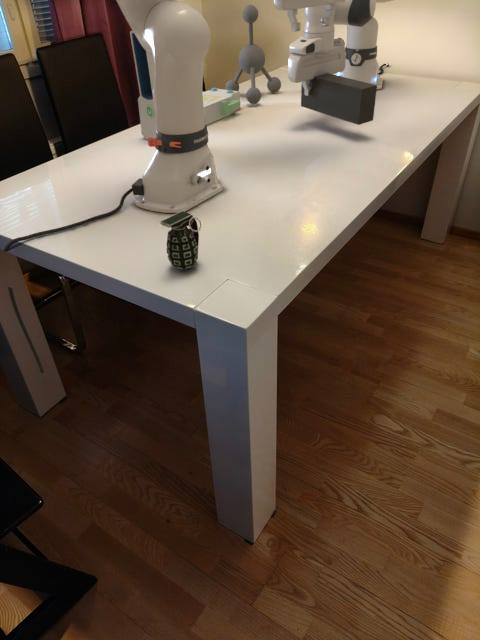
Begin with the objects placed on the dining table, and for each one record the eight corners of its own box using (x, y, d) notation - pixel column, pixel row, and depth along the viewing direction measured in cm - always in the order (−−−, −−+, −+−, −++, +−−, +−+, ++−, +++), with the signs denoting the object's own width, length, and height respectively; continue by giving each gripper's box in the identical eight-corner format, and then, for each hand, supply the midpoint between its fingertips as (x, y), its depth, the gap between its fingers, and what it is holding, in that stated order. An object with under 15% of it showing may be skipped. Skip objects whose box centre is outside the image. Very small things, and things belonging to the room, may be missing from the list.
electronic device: (141, 137, 154) (123, 28, 136) (159, 131, 158) (144, 24, 140) (166, 145, 147) (151, 30, 129) (185, 138, 151) (172, 26, 133)
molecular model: (299, 96, 185) (301, 2, 166) (252, 107, 175) (249, 9, 157) (262, 86, 200) (261, -1, 182) (217, 96, 191) (211, 5, 173)
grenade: (182, 278, 88) (175, 228, 82) (162, 268, 91) (153, 219, 85) (208, 263, 92) (203, 214, 85) (187, 253, 95) (181, 205, 89)
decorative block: (204, 85, 179) (249, 90, 169) (206, 103, 183) (250, 109, 173) (156, 101, 163) (202, 108, 153) (159, 121, 167) (204, 129, 157)
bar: (373, 120, 140) (377, 85, 134) (358, 125, 138) (362, 89, 132) (314, 102, 157) (315, 70, 151) (300, 106, 155) (301, 73, 149)
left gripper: (337, -45, 116) (333, 22, 125) (269, -39, 108) (269, 32, 116) (356, -45, 112) (351, 24, 121) (287, -40, 104) (286, 35, 112)
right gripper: (337, 35, 148) (334, 84, 157) (284, 46, 140) (284, 97, 149) (352, 37, 144) (348, 87, 153) (298, 49, 136) (297, 101, 144)
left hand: (310, 28), depth 118 cm, fingers open, 8 cm apart
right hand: (316, 92), depth 151 cm, fingers closed on bar, 6 cm apart
